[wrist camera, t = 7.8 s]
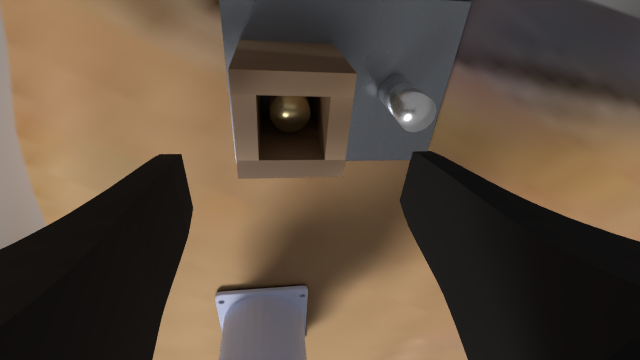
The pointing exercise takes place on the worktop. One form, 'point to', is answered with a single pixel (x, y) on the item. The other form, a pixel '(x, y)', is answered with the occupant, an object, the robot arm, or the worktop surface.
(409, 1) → the pin plate
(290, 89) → the hollow block
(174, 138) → the worktop surface
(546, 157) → the worktop surface
